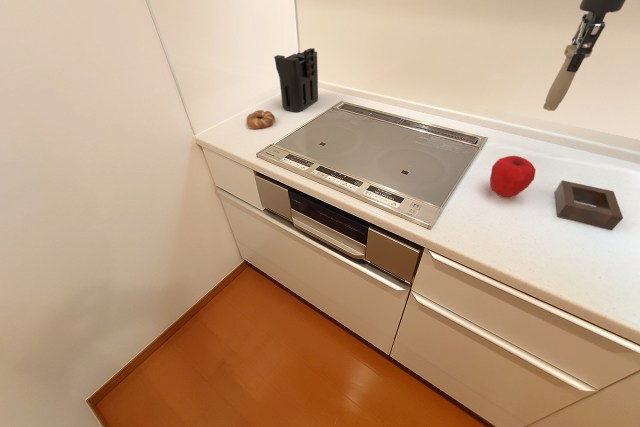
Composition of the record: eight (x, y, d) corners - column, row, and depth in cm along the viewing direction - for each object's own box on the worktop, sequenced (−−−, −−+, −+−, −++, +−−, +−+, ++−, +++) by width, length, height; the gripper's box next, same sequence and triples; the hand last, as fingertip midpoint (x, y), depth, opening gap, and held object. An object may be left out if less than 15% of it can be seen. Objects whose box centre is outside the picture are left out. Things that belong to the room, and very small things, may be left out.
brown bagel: (259, 133, 110) (258, 123, 107) (239, 125, 115) (237, 116, 112) (281, 121, 117) (280, 112, 114) (261, 114, 122) (260, 105, 119)
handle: (544, 113, 79) (574, 51, 69) (535, 104, 84) (562, 44, 74) (563, 114, 78) (597, 51, 68) (554, 104, 83) (584, 44, 73)
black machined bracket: (279, 109, 125) (272, 52, 110) (305, 93, 138) (302, 40, 123) (302, 115, 120) (298, 56, 106) (327, 98, 133) (327, 43, 119)
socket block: (603, 203, 76) (613, 191, 74) (612, 230, 69) (623, 218, 66) (554, 192, 80) (561, 180, 78) (557, 216, 73) (565, 204, 70)
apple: (484, 179, 85) (499, 145, 78) (522, 187, 82) (541, 153, 74) (481, 198, 79) (496, 164, 72) (521, 209, 75) (542, 173, 68)
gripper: (642, -13, 57) (591, 78, 68) (627, -20, 66) (584, 61, 77) (594, -13, 60) (553, 74, 71) (586, -20, 69) (551, 58, 80)
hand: (570, 67), depth 74 cm, fingers closed on handle, 6 cm apart
